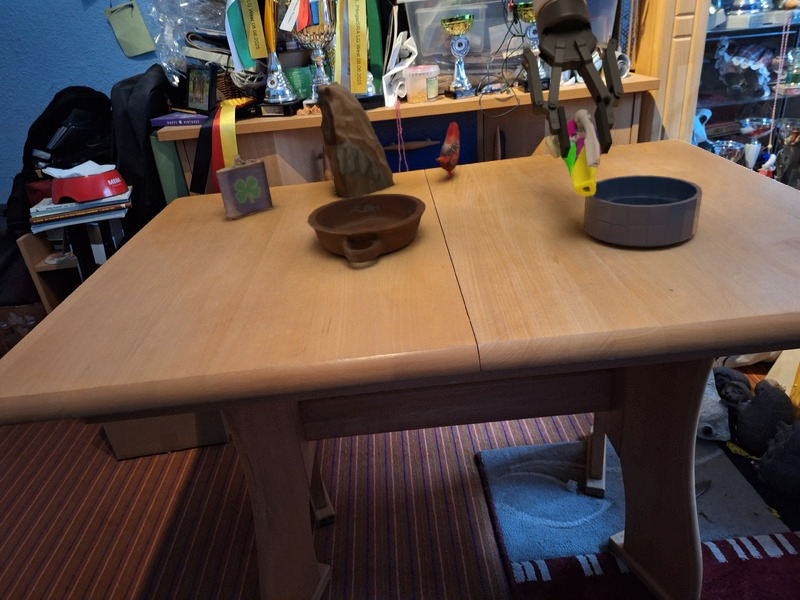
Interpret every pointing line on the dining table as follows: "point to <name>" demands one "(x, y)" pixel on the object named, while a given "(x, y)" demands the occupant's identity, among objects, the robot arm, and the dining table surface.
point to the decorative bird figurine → (450, 149)
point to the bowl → (643, 210)
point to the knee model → (580, 152)
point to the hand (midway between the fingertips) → (586, 150)
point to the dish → (367, 224)
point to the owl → (351, 144)
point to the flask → (244, 188)
